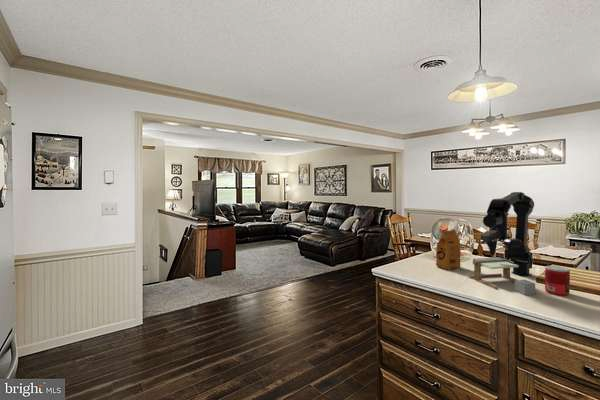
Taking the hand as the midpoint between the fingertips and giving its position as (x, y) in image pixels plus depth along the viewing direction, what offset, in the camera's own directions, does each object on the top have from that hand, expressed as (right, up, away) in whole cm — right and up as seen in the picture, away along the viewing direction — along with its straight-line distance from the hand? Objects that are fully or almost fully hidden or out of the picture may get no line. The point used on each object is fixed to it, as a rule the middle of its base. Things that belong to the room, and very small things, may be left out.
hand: (500, 257), depth 139 cm
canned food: (+15, -13, -14) cm, 24 cm away
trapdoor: (0, -5, +3) cm, 6 cm away
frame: (0, -12, +2) cm, 12 cm away
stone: (+2, -13, -13) cm, 18 cm away
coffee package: (-10, -12, +30) cm, 33 cm away
